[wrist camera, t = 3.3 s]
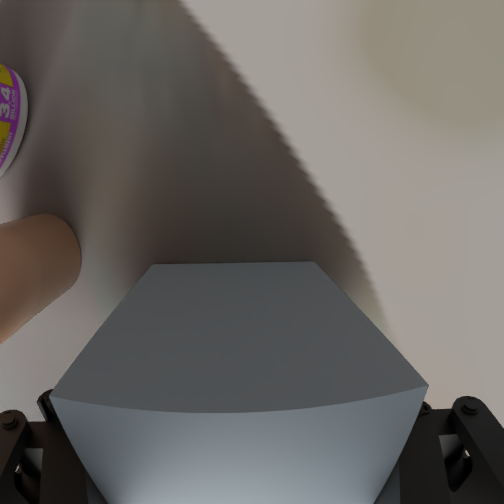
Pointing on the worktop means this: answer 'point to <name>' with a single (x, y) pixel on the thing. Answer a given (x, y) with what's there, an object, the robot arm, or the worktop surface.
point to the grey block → (238, 391)
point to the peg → (34, 268)
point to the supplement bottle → (11, 115)
